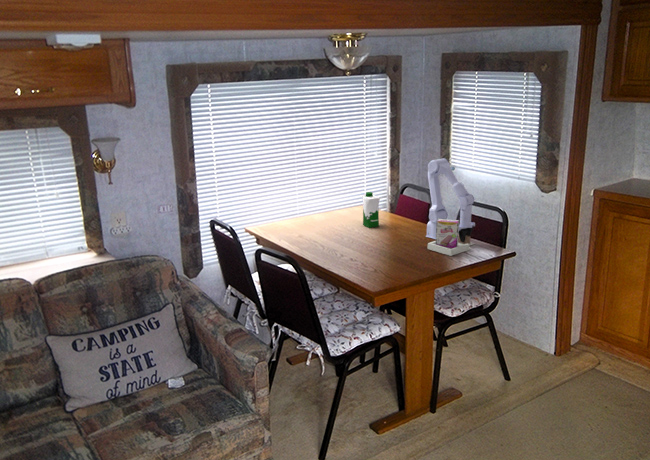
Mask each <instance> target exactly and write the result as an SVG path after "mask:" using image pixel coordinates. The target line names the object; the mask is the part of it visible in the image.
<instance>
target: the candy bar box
mask: <svg viewBox="0 0 650 460" xmlns="http://www.w3.org/2000/svg"><path fill="white" fill-rule="evenodd" d="M459 224H460V219H448V218H447V219H438V220H437V228H436V239H435V241H436V245H439V246H442V247H446V248H449V249H452V248H455V247H458V236H459Z"/></svg>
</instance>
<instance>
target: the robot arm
mask: <svg viewBox="0 0 650 460" xmlns="http://www.w3.org/2000/svg"><path fill="white" fill-rule="evenodd" d="M427 167H428V169H427V170H428V171H427V179H428V186H429V193H430V194H429V195H430V200H431V207H430V208H429V214H428V220H429V221H428V222H427V224H426V235H425V237H426V238H430V239H433V240H436V228H437V220H438V219H448V217H449V215H448V212H447V209H446V206H445V205H444V204H443V201H442V193H441V187H440V179H439V176H440V174H442V175H444V176H445V177H446V179H447V180H448V181H449V182H450V184H451V185H452V191H453V192H454V194H455V195H456V196H457V198H458V200H457V201H458V204H459V208H460V211H459V216H460V217H459V235H458V236H459V237H460V241H461V242H465V236H466V235H467V236H471V234H472V232H473V231H474V227H476V222H474V221H473V222H472V208H473V206H472V205H473V204H474V203H475V197H474V195H473V193H470V192H469V191H468V190H467V189H466V187H465V185H464V184H463V183H462V182H459V180H458V179H457V178H456V175H455V173H454V172H453V170H452V169H451V163H450V162H449V161H448V159H447V158H445V157H442V158H438V159H432V160H431V161H429V163H427Z"/></svg>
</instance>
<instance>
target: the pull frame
mask: <svg viewBox="0 0 650 460" xmlns="http://www.w3.org/2000/svg"><path fill="white" fill-rule="evenodd" d="M473 245H475V243H474V242H472V241H471V235H470V236H467V235H466V236H465V242H461V241H460V237H459V235H458V247H455V248H452V249H449V248H446V247H442V246H439V245H436V240H434V241H431V242H428V243H427V250H430V251H433V252H437V253H439V254H443V255H446V256H451V257H452V256H455V255H458V254H460V253H463V252H466V251H470V250H471V247H470V246H473Z"/></svg>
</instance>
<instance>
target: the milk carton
mask: <svg viewBox="0 0 650 460" xmlns="http://www.w3.org/2000/svg"><path fill="white" fill-rule="evenodd" d="M380 199H381V197H380V196H378V195H374V194H373V192H371V191H367V192H365V195H363V196H362V203H363V205H362V206H363V207H362V209H363V210H362V216H363V218H362V226H363V225H364V227H366V228H368V229H373V228H377V226H379V227H380V219H379V211H380V210H379V208H380V207H379V206H380ZM372 227H373V228H372Z"/></svg>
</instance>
